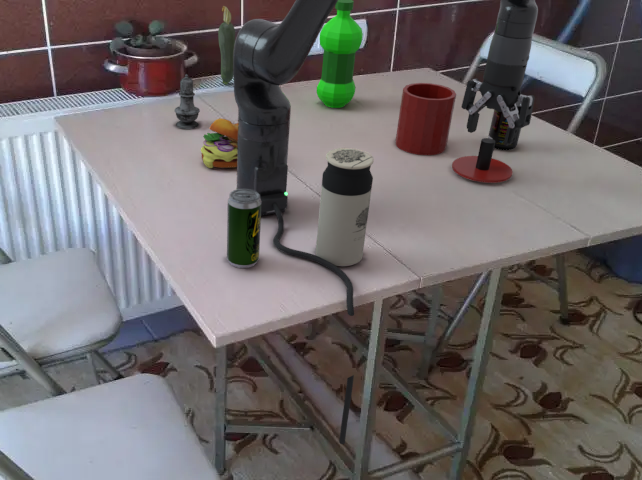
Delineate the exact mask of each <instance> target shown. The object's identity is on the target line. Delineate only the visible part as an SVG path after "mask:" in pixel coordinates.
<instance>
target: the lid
mask: <svg viewBox="0 0 642 480" xmlns="http://www.w3.org/2000/svg"><path fill="white" fill-rule="evenodd" d="M494 146H495V140H493V139H490V138H488V137H483V138H481V140H480V143H479V149H478V153H477V155H465V156H460V157H458V158H455V159H454V160H453V161H452V164H451V169H452V171H453V172H454V173H455V174H457V175H458V176H460V177H462V178H464V179H467V180H470V181H473V182H479V183H486V184H487V183H488V184H497V183H503V182H506V181H509V180H510V179H511V178H512V177H513V173H514V170H513V169H512V167H511V166H510V165H508V164H507V163H505V162H504V161H501V160H499V159H496V158H493V154H494V150H495V148H494Z"/></svg>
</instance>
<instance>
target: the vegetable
mask: <svg viewBox="0 0 642 480" xmlns="http://www.w3.org/2000/svg"><path fill="white" fill-rule="evenodd" d="M221 12H222V13H223V19H222V20H223V22H222V23H221V24H220V25H219V27H218V30H217V32H218V33H217V34H218V35H217V38H218V39H217V40H218V45H219V46H218V47H219V50H220V51H219V52H220V78H221V79H222V84H224V85H228V84H229V83H231V82H232V81H233V80H234V74H233V52H234V44H235V40H236V29H235V27H234V24H233V23H232V22H231V21H232V13H231V12H230V10H229V9H228V7H227V6H225V5H223V6H222V8H221Z"/></svg>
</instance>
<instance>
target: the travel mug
mask: <svg viewBox="0 0 642 480" xmlns="http://www.w3.org/2000/svg"><path fill="white" fill-rule="evenodd" d="M325 159H326V161H327V166H326V168H325V169H324V171H323V172H322V177H321V178H322V179H321V187H320V188H321V189H320V199H319V210H318V211H319V212H318V220H317V221H318V222H317V234H316V242H315V243H316V244H315V255H316V256H318V257H320V258H322V259H324V260H326V261H328V262H330V263H332V264H334V265H335V266H337V267H349V266H353V265H356V264H359V263H360V262H361V261H362V259H363V256H364V248H365V242H366V233H367V225H368V218H369V212H370V211H369V210H370V203H371V196H372V190H373V189H372V188H373V180H374V177H373V174H372V172H371V167H372V165H373V163H374V161H375V159H374V156H373V155H372V154H370V152H367V151H365V150H362V149H359V148H353V147H352V148H351V147H339V148H333V149H331V150H330V151H328V152H327V153H326V154H325Z"/></svg>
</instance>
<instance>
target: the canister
mask: <svg viewBox="0 0 642 480" xmlns="http://www.w3.org/2000/svg"><path fill="white" fill-rule="evenodd" d="M456 99H457V92H456V91H455V90H454V89H452V88H451V87H448V86H445V85H442V84H437V83H431V82H416V83H410V84H407V85H405V86H404V87H403V88H402V94H401V101H400V107H399V114H398V121H397V126H396V127H397V128H396V134H395V146H396V147H397V149H399V150H401V151H403V152H406V153H409V154H412V155H417V156H436V155H439V154H443V153H444V152H445V151H446V150H447V149H446V148H447V146H448V140H449V136H450V129H451V124H452V119H453V113H454V110H455V104H456V103H455V102H456Z"/></svg>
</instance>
